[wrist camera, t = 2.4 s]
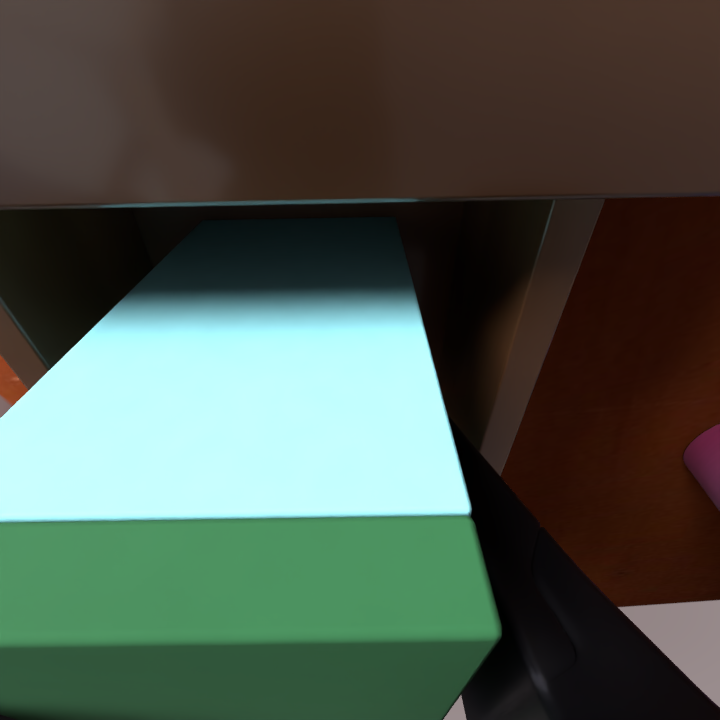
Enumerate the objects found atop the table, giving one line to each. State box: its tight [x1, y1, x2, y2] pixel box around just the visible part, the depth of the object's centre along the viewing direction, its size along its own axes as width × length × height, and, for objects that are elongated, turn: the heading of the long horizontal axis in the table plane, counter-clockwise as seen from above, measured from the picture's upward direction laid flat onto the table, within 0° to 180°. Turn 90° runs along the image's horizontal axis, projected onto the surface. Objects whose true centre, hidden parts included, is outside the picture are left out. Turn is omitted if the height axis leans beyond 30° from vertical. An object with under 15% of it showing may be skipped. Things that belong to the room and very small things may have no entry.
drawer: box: [0, 199, 605, 476], centre depth 12 cm, size 17×12×6 cm
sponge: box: [0, 217, 502, 720], centre depth 8 cm, size 6×6×10 cm
